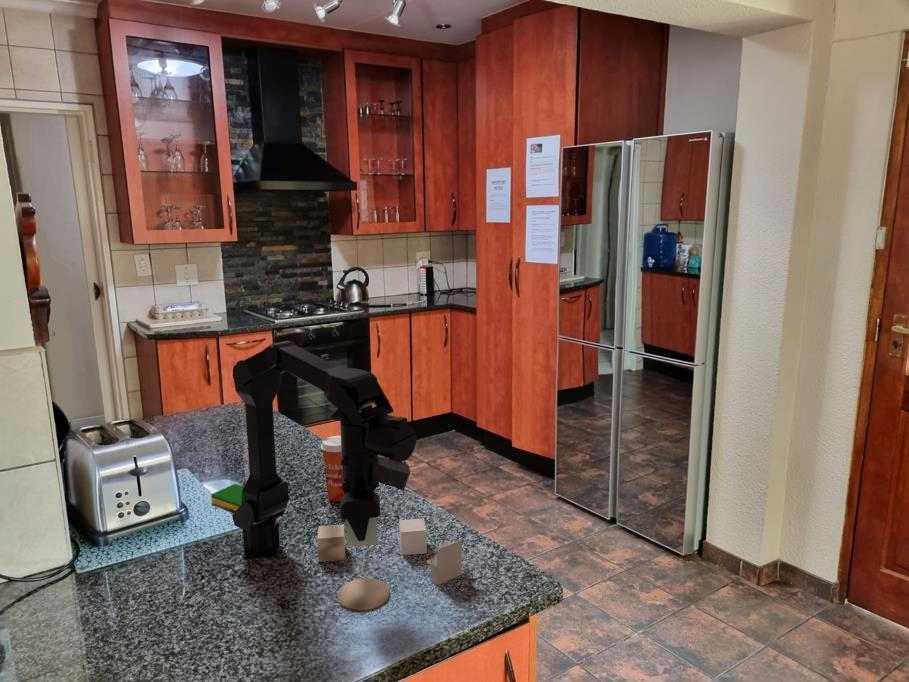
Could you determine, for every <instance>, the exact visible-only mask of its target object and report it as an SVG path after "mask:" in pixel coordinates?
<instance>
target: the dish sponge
mask: <svg viewBox="0 0 909 682" xmlns="http://www.w3.org/2000/svg"><path fill="white" fill-rule="evenodd" d="M244 486H245V485H240V484H238V483H233V484H231V485H229V486H227V487H225V488H222V489H220V490H219V491H216V492H213V493H211V494H210V495H211V503H212V504H215V505H218V506H221V507H223V508H226V509H229V510H231V511H234V512H235V511H236V510H237V509H238V508H239V507H240V506H241V505H242V504H241V503H242V490H243V488H244Z"/></svg>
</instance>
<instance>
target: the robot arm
mask: <svg viewBox="0 0 909 682" xmlns="http://www.w3.org/2000/svg"><path fill="white" fill-rule="evenodd" d="M285 372H287V373H289V374H290V375H293V376H294V377H296V378H298V379H300V380H302V381H304V382H306V383H307V384H309V385H311V386H313V387H315V388H316V389H319V390H321V391H322V393H324V395H325V398H326V400H327V401H328V403H330V404H331V405H332V406H334V408H336V410H335V411H334V412H333V413H331V414H330V419H331V420H333V421H334V420H335V421H338V422H339V424H340V425H339V426H340V429H339V430H340V436H341V465H342V488H343V491H344V496H343V497H342V498H341V502H339V504H340V506H339V508H340V509H339V512H340V520H344V521H346V520H347V521H348V523H349V525H350V526H351V528H352V530H353V532H354V534H355V536H356V537H357V539H358V541H364V540H365V537H366V532H367V527H368V523H369V518H376V519H378V517H381V503H380V495H379V494H377V492H375V490H376V489H377V488H379V487H380V486H379V485H380V484H381V485H386V486H388V487H392V488H396V490H398V491H404V490H405V488H406V485H407V483H408V480H409V477H410V476H411V469H410V468H411V467H410V465H409V464H408V463H407V460H409V458H410V457H411V456H412V455H413V452H414V451H415V448H416V444H417V434H415V433H416V432H415V430H414V428H413V427H412V426H411V425H409V424H408V418H407V417H404V416H394V415H391V414H393V413H394V408H393V407H392V405H391V403H390V401H389V399H388V398H387V395H386V394H385V392H384V390H383V388H382V387H381V384H380V383H379V381H378V377H377V375H375V374H373V373H372V372H370V371H367V370H364V369H358V368H356V367H355V368H353V367H342V366H338V365H336V364H334V363H332V362H329V361H328V360H326V359H324V358H323V357H320V356H318V355H316V354H314V353H312V352H310V351H307V350H305V349H304V348H302V347H299V346H298V345H297V344H296V343H295V342H293V341H291V340H285V341H281V342H275V343H271V344H270V345H268V346H266V347H264V349H262V350H261V351H259V352H257V353H256V354H253V355H252V356H250V357H248V358H245V359H240V360H238V361H237V362H236V363H235V365H233V367H232V378H233V379H232V380H233V382H234V383H233V384H234V389H235V392H236V394H237V396H239V398H240V399H241V401H242V402H243V403H244V405H245V407H244V408H245V421H246V435H247V437H246V439H247V451H248V452H247V453H248V466H249V467H248V468H249V470H248V471H249V475H248V478H247V480H246V482H245V484H244V485H243V486H244V488H243V490H242V503H241V504H242V505H241V506H240V507H239V508H238V509H237V510H236V511H234V512H233V514H231V516H232V517H231V518H232V520H233V521H232V522H233V524H234V527H237V528H240V529H242V542H243V551H242V555H241V556H242V558H243V559H246V558H247V559H249V558H250V559H251V558H261V557H272V556H276V555H277V553H278V550H279V549H280V547H281V543H282V533H281V532H282V531H281V524H280V522H278V518H280V517H283V516H284V515H285V511H286V508H288V502H289V501H290V500H291V499H290V495H289V482H287V481H284V480H283V479H282V478H281V477H280V475H279V474H278V473H277V460H276V459H277V457H276V441H275V440H276V437H275V424H274V423H275V422H274V421H275V420H274V406H273V405H274V401H275V399H276V396H277V394H278V392H279V390H280V388H281V379H282V375H283V373H285ZM373 405H375V406H373ZM370 406H373V407H370ZM367 407H370V408H368V409H365V410H363V411H361V410H362V409H364V408H367Z"/></svg>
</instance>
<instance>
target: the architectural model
mask: <svg viewBox="0 0 909 682" xmlns="http://www.w3.org/2000/svg"><path fill="white" fill-rule="evenodd" d="M465 558H466V555H465V554H464V553H462V539H458V540H455V541H454V542H452V541H449V540H448V539H445V540H444V541H443V543H442V545H441V546H440V547H439V548H438V547H437V549H436V553H435V555H433V556H430V558H429V559H427V560H426V563H427V564H428V565H430V582H431V583H433V584H434V585H435V586H439V585H441V584H443V583H446V582H448V581H450V580H452V579H455V578H458V577H460V576H461V575H462V572H463V571H462V560H463V559H465Z"/></svg>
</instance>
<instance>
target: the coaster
mask: <svg viewBox="0 0 909 682" xmlns="http://www.w3.org/2000/svg"><path fill="white" fill-rule="evenodd" d="M389 598H390V588H389V586H388V585H387V584H386V583H385V582H384V581H382V580H380V579H376V578H370V577H369V578H367V577H366V578H365V577H364V578H357V579H354V580H351V581H349V582H346V583H344V585H342V586H341V587H340V588H339V590H338V592H337V601H338V604H340V605H341V606H342V607H344V608H346V609H347V610H350V611H357V612H358V611H359V612H361V611H362V612H363V611H364V612H365V611H370V610H373V609H376V608H378V607H380V606H382V605H383V604H385V603H386V602H387V601H388V599H389Z"/></svg>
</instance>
